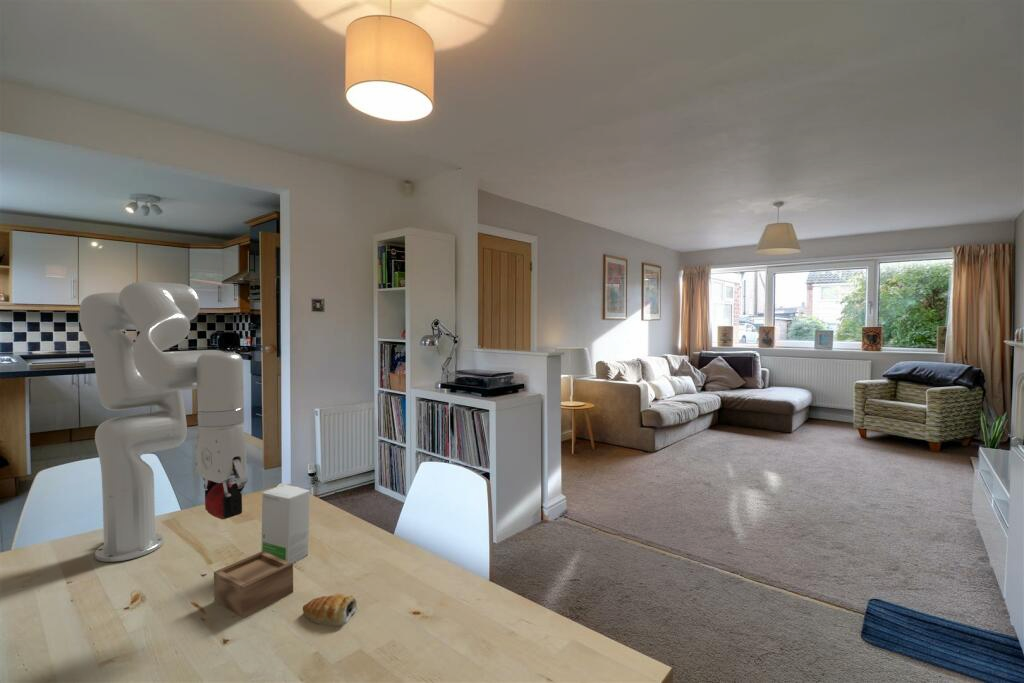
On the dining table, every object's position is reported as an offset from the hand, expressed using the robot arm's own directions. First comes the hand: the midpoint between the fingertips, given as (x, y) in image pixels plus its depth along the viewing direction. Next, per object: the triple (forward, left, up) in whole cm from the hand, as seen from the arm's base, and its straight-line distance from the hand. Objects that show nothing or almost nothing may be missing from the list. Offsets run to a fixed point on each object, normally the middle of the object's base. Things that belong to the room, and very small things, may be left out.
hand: (223, 511), depth 93 cm
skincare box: (-6, +17, -18) cm, 26 cm away
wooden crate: (+3, +4, -18) cm, 19 cm away
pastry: (+21, +8, -18) cm, 29 cm away
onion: (0, 0, -2) cm, 2 cm away
